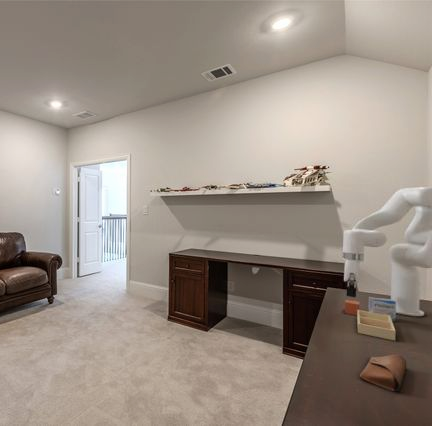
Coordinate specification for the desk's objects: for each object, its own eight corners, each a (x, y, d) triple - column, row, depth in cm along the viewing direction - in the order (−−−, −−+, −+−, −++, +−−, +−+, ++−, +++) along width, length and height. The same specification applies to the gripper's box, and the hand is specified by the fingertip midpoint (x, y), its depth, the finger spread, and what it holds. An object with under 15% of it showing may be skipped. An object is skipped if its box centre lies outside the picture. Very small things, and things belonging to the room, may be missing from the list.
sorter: (357, 318, 130) (357, 309, 130) (389, 324, 123) (390, 315, 123) (357, 332, 114) (358, 323, 114) (395, 340, 107) (395, 330, 107)
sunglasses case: (368, 356, 95) (383, 341, 92) (394, 375, 90) (410, 361, 88) (358, 377, 83) (374, 361, 80) (387, 400, 78) (406, 385, 76)
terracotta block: (345, 310, 140) (345, 299, 140) (358, 312, 137) (359, 301, 137) (344, 313, 136) (345, 302, 136) (359, 315, 133) (359, 304, 133)
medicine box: (372, 319, 129) (372, 299, 128) (367, 315, 133) (368, 296, 133) (395, 322, 126) (396, 301, 125) (390, 318, 130) (391, 298, 130)
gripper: (342, 254, 145) (341, 289, 145) (342, 257, 131) (340, 296, 132) (363, 256, 140) (361, 292, 140) (364, 260, 127) (362, 300, 127)
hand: (351, 294), depth 136 cm, fingers open, 9 cm apart
